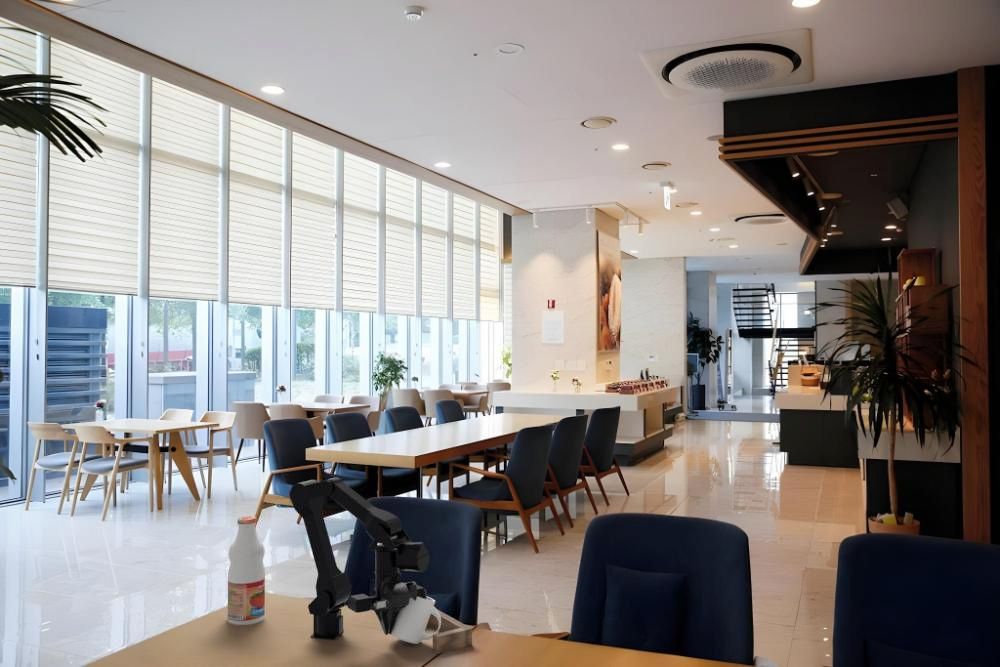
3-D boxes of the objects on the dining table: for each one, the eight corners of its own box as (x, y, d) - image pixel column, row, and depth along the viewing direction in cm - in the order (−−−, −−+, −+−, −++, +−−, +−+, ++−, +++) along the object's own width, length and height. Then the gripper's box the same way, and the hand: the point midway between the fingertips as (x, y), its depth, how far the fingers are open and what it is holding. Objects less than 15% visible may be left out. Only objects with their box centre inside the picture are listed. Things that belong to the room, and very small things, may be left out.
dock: (436, 653, 186) (436, 636, 186) (398, 629, 202) (398, 613, 203) (472, 644, 192) (472, 628, 192) (432, 621, 208) (432, 606, 208)
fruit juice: (231, 618, 210) (233, 514, 211) (267, 617, 211) (268, 514, 212) (223, 631, 201) (224, 522, 202) (260, 629, 202) (261, 521, 203)
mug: (428, 651, 186) (444, 607, 189) (383, 632, 189) (399, 589, 191) (435, 648, 194) (450, 605, 197) (392, 630, 197) (407, 588, 199)
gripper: (365, 581, 178) (365, 651, 177) (436, 569, 188) (437, 635, 187) (346, 572, 187) (347, 638, 186) (415, 561, 197) (416, 624, 196)
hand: (388, 634), depth 189 cm, fingers closed, pressing on mug
